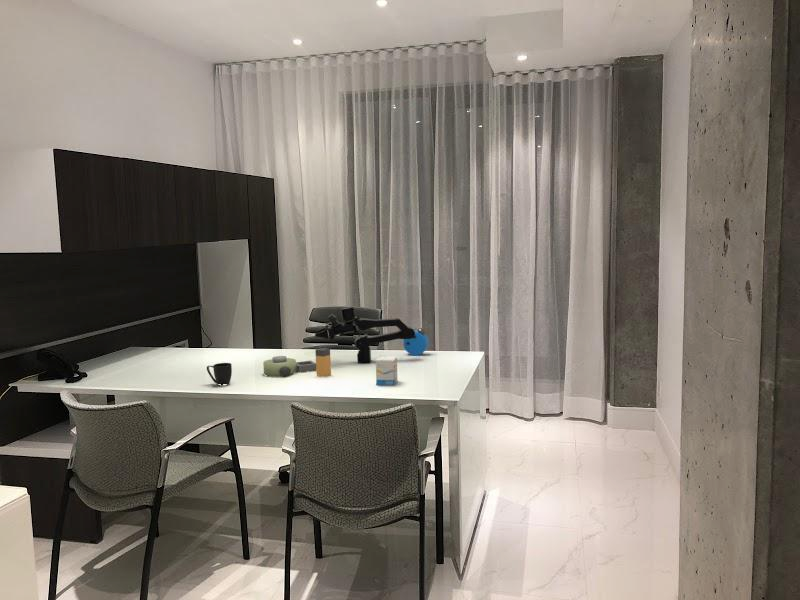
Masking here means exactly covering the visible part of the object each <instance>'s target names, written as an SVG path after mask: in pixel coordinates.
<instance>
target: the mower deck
mask: <svg viewBox="0 0 800 600" xmlns="http://www.w3.org/2000/svg"><path fill="white" fill-rule="evenodd" d="M262 363H263V375H264V374H265V375H268V376H267V377H269V376H282V377H283V378H287V377H286V376H288V377H289V376H292V374H293V375H295V374H297V373H298V372H299V374H301V373H300V372H302V373H308V372H307V371H309V372H316V371H315V370H316V361H315V362H314V361H313V360H305V361H304V360H303V361H297V360H296V359H295V358H291V357H287V356H285V355H278V356H273V357H272V358H271V359H267V360H264V361H263V362H262ZM294 373H295V374H294ZM265 375H264V376H265Z"/></svg>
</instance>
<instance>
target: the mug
mask: <svg viewBox="0 0 800 600" xmlns="http://www.w3.org/2000/svg"><path fill="white" fill-rule="evenodd" d="M210 368H213V374H212V373H211V370H210ZM206 372H207V373H208V375H209V377H210V378H211V380H212V381H213V382H214V383H215V384H216V383H217V384H221V385H223V384H229V383H230V384H231V379H232V373H233V367H232V363H230V362H220V363H215V364H213V365H207V366H206ZM230 384H229V385H230Z"/></svg>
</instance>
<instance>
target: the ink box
mask: <svg viewBox="0 0 800 600" xmlns="http://www.w3.org/2000/svg"><path fill="white" fill-rule="evenodd" d="M375 380H376V386H395V385H396V384H397V382H398V357H397V356H387V355H386V356H384V355H383V356H379V357H378V358H376V359H375ZM395 383H396V384H395ZM394 384H395V385H394Z"/></svg>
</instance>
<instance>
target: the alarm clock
mask: <svg viewBox="0 0 800 600" xmlns="http://www.w3.org/2000/svg"><path fill="white" fill-rule="evenodd" d="M413 330H414V331H415V336H414V337H413V338H412V339H403V342H402V343H403V348H404V350H405V351H406V352H407V353H408V354H409V355H412V356H420V355H422V354H424V352H426V350H427V349H428V347H429V338H428V336H427V335H426V332H427V331H426V329H424V328H423V327H420V328H418V329H417V328H415V329H414V328H413Z"/></svg>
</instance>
